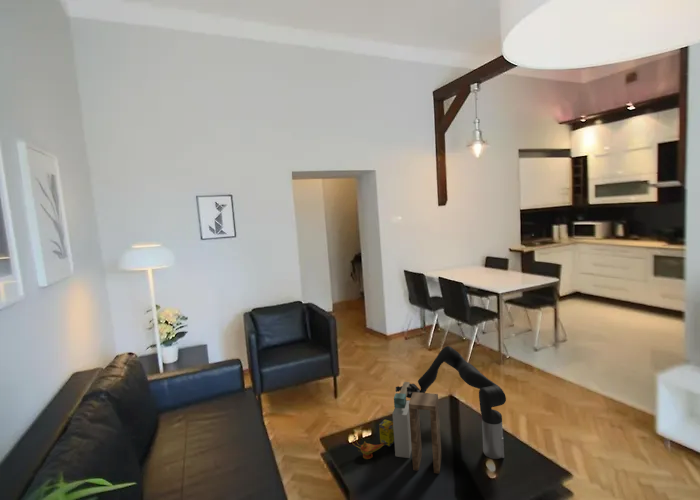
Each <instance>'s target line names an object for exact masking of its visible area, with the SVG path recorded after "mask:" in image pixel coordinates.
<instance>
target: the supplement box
mask: <svg viewBox="0 0 700 500" xmlns="http://www.w3.org/2000/svg"><path fill="white" fill-rule="evenodd" d="M378 427H379V442H380V443H379V444H381V443H385V442H387V443H388V444H385V445H384V446H385V447H387V448H391V447H392V445H393V444H395V443H394V429H393V420H388V419H384V420H382V421H381V422H380V423H379V424H378Z"/></svg>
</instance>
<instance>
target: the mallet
mask: <svg viewBox="0 0 700 500" xmlns="http://www.w3.org/2000/svg"><path fill="white" fill-rule="evenodd" d="M410 384H411V383H410V381H403V383H402V389H401V391H399V392H395V394H394V397H393V405H394V409H395V408H404V409H405V406H406V400H407V394H408V391H407V387H410Z"/></svg>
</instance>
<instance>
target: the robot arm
mask: <svg viewBox="0 0 700 500" xmlns="http://www.w3.org/2000/svg"><path fill="white" fill-rule="evenodd" d="M443 363H446V364H447V365H448V366H449V367H452V368H454V369H455V370H456V371H457V372H458V376H459V377H460V378H461V379H462V381H464V382H465V383H466V384H467V385H468V386H470V387H473V388H476V389H478V399H479V400H478V401H479V408H480V410H479V412H480V414H481V429H482V451H483V454H484V455H485V456H486V457H487V458H490V459H494V460H498V459H505V449H504V447H505V446H504V444H505V443H504V432H503V430H504V429H503V415H502V414H501V413H500V412H499V411H498V410H497V409H493V408H495V407H500V406H503V405H504V404H505V403H506V402H507V396H506V394H505V392H504V390H503V389H502V388H501V387H500V386H499V385H498V384H497V383H495V382H493V381H492V380H491V379H489V378H488V377H486V376H485V375H484V374H483V373H482V372H481V371H480V370H478V369H477V368H476V367H475V366H474V365H473V364H471V363H470V362H468V361H466V359H465V358H464V357H463V356H462V355H461V354H460V352H458V350H456V349H454V348H453V347H451V346H449V345H448V346H444V347H443V348H442V349H441V350H440V352H439V353H438V354H437V356H436V358H434V360H433V362H432V363H431V364H430V366H429V368H428V369H427V370H426V371H425V372H424V374H422V376H421V377H420V378H418V380H417V384H418V386H419V387H418V386H417V385H416V384H415V383H410V387H407V391H408V394H407V397H406V399H411V396H412V393H413V392H419V393H427V392H426V391H427V390H428V389H429V388H430V387H431V385H433V384H434V382H436V379H437V376H438V374H439V373H438V372H439V369H440V367H441V365H442V364H443ZM402 386H403V385H402ZM402 386H399V385H398V386H395V393H400V391H401V389H402Z"/></svg>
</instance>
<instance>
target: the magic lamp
mask: <svg viewBox="0 0 700 500" xmlns="http://www.w3.org/2000/svg"><path fill="white" fill-rule="evenodd" d="M352 438H353V440H352V442H351V443H352V445H353V446H354V447H357V448H358V449H359V451H360V453H362V458H363V459H364V460H370V459H372V458H373V453H374V452H376V451H378V450H380V449H381V448H382V447H383V446H385V444H388V443H387V442H385V443H381V444H380V443H379V444H373V443H367V442H366V441H364V442H363V443H362V444H359V443H358V441H357V436H356V435H355V434H353V436H352ZM354 441H355V442H356V444H357V445H356V444H355V443H354Z"/></svg>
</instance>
